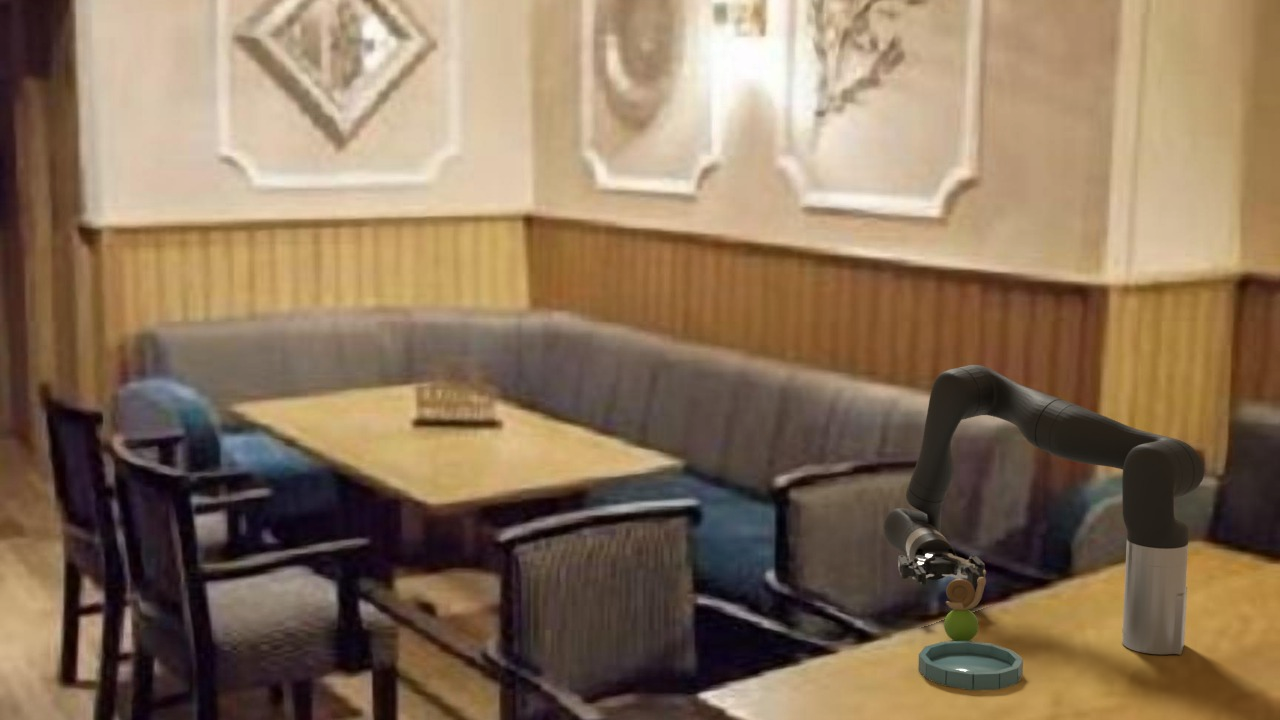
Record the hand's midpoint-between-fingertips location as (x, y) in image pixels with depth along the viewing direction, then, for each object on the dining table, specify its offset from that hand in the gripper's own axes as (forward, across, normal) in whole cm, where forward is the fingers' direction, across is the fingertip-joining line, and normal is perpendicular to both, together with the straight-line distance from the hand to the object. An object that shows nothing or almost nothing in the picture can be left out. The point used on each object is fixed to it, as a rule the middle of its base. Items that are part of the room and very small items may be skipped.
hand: (949, 579), depth 256 cm
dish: (+26, -2, +7) cm, 27 cm away
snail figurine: (+11, 0, +7) cm, 13 cm away
